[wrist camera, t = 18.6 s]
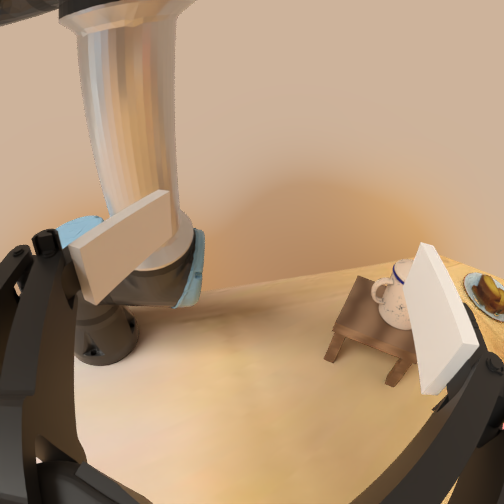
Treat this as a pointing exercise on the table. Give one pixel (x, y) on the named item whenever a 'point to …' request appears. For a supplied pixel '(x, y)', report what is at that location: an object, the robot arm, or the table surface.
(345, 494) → the table surface
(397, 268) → the teacup with lid
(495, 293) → the food on plate
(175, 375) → the table surface
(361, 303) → the walnut footstool
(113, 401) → the table surface
